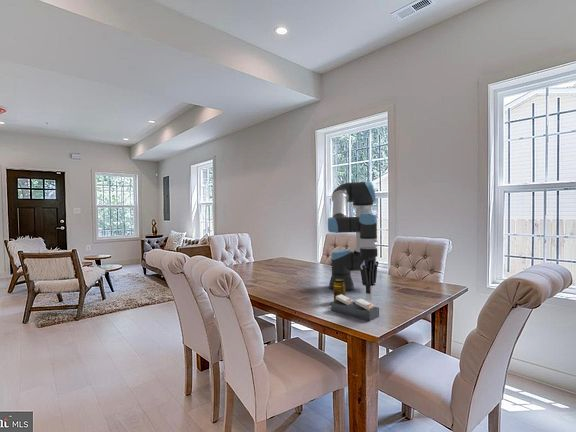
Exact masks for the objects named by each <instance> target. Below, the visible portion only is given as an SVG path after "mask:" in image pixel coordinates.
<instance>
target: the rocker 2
mask: <svg viewBox="0 0 576 432" xmlns="http://www.w3.org/2000/svg"><path fill="white" fill-rule="evenodd" d="M354 302H355V303H356V304H357V305H359V306H361V307H363V308H365V309H367V310H370V309H372V308H374V307H375V304H373V303H371V302H370V301H369V302H368V300H366V299H363V298H359V299H356V300H355V301H354Z"/></svg>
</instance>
